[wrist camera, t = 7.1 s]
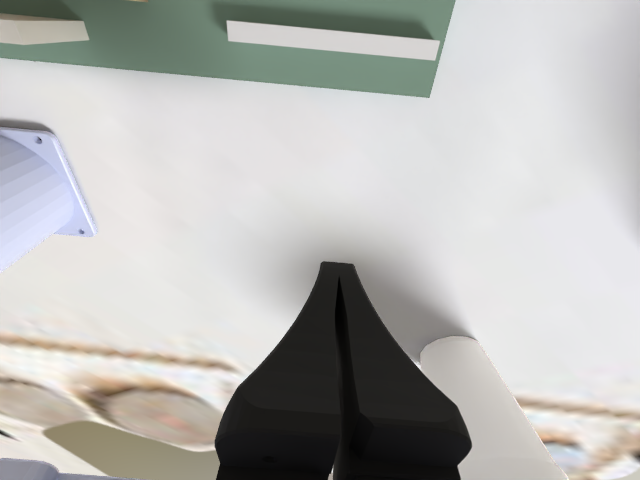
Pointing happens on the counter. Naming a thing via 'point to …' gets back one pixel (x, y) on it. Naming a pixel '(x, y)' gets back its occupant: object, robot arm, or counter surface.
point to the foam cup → (487, 414)
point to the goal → (39, 30)
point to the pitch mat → (254, 40)
